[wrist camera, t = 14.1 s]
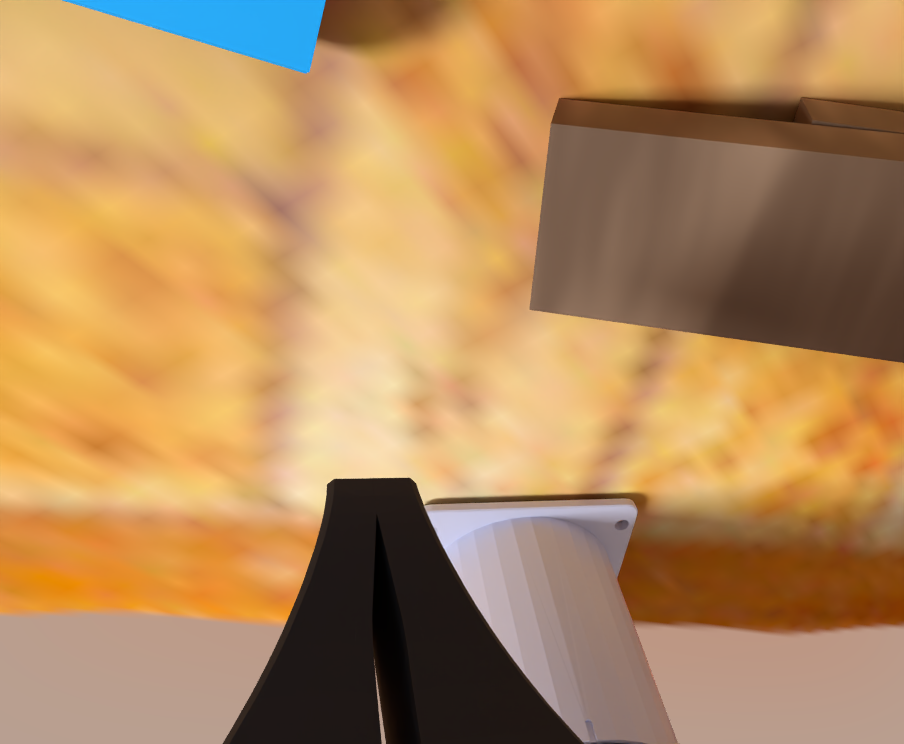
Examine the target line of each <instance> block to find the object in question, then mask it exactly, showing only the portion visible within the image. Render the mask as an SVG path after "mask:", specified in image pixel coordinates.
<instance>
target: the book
mask: <svg viewBox="0 0 904 744" xmlns="http://www.w3.org/2000/svg"><path fill="white" fill-rule="evenodd" d="M63 1H66V2H70V3H73V4H76V5H80V6H83V7H86V8H90V9H93V10H96V11H100V12H103V13H106V14H110V15H113V16H116V17H120V18H123V19H126V20H129V21H133V22H136V23H139V24H143V25H146V26H149V27H153V28H156V29H159V30H163V31H166V32H169V33H173V34H176V35H179V36H183V37H186V38H189V39H193V40H196V41H199V42H203V43H206V44H209V45H213V46H216V47H219V48H223V49H226V50H229V51H233V52H236V53H239V54H242V55H246V56H249V57H252V58H256V59H259V60H262V61H266V62H269V63H272V64H276V65H279V66H282V67H286V68H289V69H292V70H296V71H299V72H302V73H307V72H309V71H310V67H311V63H312V58H313V54H314V49H315V45H316V41H317V36H318V32H319V28H320V23H321V19H322V15H323V10H324V6H325V2H326V0H63Z"/></svg>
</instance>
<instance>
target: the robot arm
mask: <svg viewBox="0 0 904 744" xmlns="http://www.w3.org/2000/svg"><path fill="white" fill-rule="evenodd" d="M637 514H638V510H637V507H636V505H635V503H634V501H632V500H630V499H625V498H622V499H590V500H557V501H525V502H492V503H460V504H430V505H425V506H424V505H423V502H422V499H421V497H420V494H419V491H418V488H417V485H416V483H415V482H414V481H413V480H412V479H411V478H369V479H334V480H332V481H331V482H330V483H328V484H327V496H326V503H325V510H324V515H323V519H322V524H321V528H320V531H319V535H318V538H317V542H316V546H315V549H314V552H313V555H312V558H311V561H310V563H309V566H308V569H307V572H306V575H305V578H304V581H303V584H302V586H301V589H300V592H299V594H298V596H297V599H296V601H295V603H294V606H293V608H292V611H291V613H290V615H289V618H288V620H287V622H286V625H285V627H284V630H283V632H282V634H281V636H280V638H279V640H278V643H277V645H276V647H275V649H274V651H273V653H272V655H271V657H270V659H269V661H268V663H267V665H266V667H265V669H264V671H263V673H262V675H261V677H260V679H259V681H258V683H257V685H256V686H255V688H254V690H253V692H252V694H251V696H250V697H249V699H248V701H247V703H246V704H245V706H244V708H243V710H242V711H241V713H240V715H239V717H238V718H237V720H236V722H235V724H234V725H233V727H232V729H231V731H230V733H229V734H228V736H227V737H226V739H225V741H224V743H223V744H381V733H380V721H379V712H378V700H377V690H376V677H375V668H376V675H377V682H378V689H379V696H380V704H381V711H382V718H383V725H384V732H385V739H386V744H678V742H677V739H676V737H675V734H674V731H673V728H672V726H671V723H670V720H669V718H668V716H667V712H666V710H665V707H664V704H663V702H662V699H661V696H660V694H659V691H658V688H657V685H656V683H655V680H654V677H653V675H652V672H651V669H650V667H649V664H648V661H647V659H646V656H645V653H644V651H643V648H642V645H641V643H640V640H639V637H638V634H637V632H636V629H635V626H634V624H633V621H632V618H631V616H630V613H629V610H628V608H627V605H626V602H625V599H624V597H623V594H622V591H621V589H620V586H619V583H618V581H617V578H618V574H619V571H620V568H621V565H622V562H623V559H624V555H625V552H626V549H627V546H628V543H629V540H630V536H631V533H632V530H633V527H634V524H635V521H636V517H637ZM621 520H622V521H621ZM618 521H620V522H618ZM374 661H375V665H374Z"/></svg>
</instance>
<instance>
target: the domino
mask: <svg viewBox="0 0 904 744" xmlns="http://www.w3.org/2000/svg"><path fill="white" fill-rule="evenodd" d="M530 310H535V311H542V312H549V313H556V314H563V315H570V316H577V317H585V318H592V319H599V320H606V321H613V322H620V323H627V324H634V325H641V326H648V327H655V328H662V329H669V330H676V331H683V332H690V333H697V334H704V335H712V336H719V337H726V338H733V339H740V340H747V341H754V342H761V343H768V344H775V345H782V346H789V347H796V348H803V349H810V350H817V351H824V352H831V353H839V354H846V355H853V356H860V357H867V358H874V359H881V360H888V361H895V362H902V363H904V134H898V133H889V132H879V131H869V130H860V129H850V128H840V127H831V126H821V125H811V124H802V123H792V122H782V121H773V120H763V119H753V118H744V117H734V116H724V115H715V114H705V113H695V112H686V111H676V110H666V109H657V108H647V107H637V106H628V105H618V104H608V103H599V102H589V101H579V100H570V99H560V98H559V101H558V104H557V107H556V110H555V113H554V116H553V119H552V122H551V128H550V137H549V146H548V154H547V163H546V172H545V180H544V189H543V198H542V206H541V215H540V224H539V232H538V241H537V250H536V258H535V267H534V276H533V284H532V293H531V302H530Z"/></svg>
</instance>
